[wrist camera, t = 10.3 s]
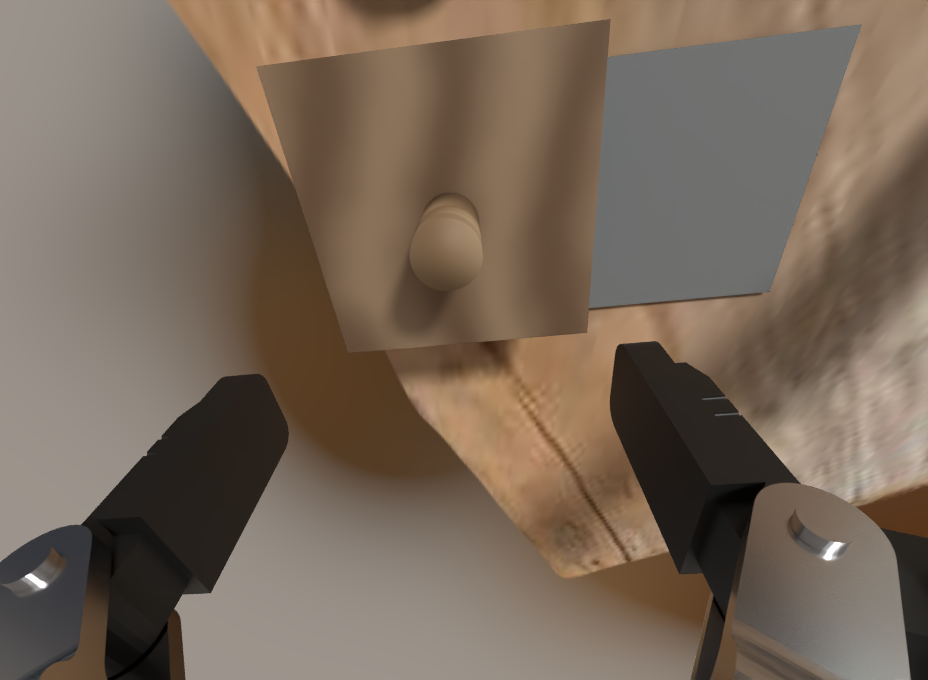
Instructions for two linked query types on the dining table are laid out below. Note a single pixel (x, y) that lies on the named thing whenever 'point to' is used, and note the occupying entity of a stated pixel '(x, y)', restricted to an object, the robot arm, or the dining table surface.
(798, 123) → the mat
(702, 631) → the robot arm
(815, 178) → the dining table surface
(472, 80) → the lid
